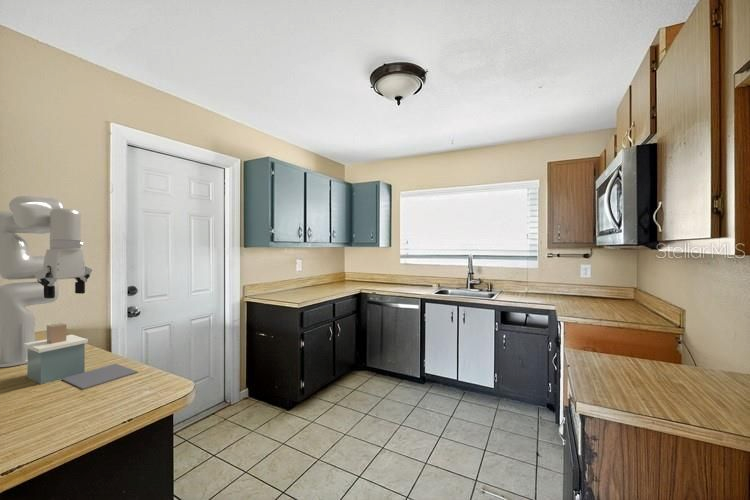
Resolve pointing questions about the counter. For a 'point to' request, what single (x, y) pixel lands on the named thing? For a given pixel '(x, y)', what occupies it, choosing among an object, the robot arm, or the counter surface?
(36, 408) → the counter surface
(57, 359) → the teal storage bin
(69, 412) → the counter surface
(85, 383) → the mat
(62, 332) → the lid
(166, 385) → the counter surface
